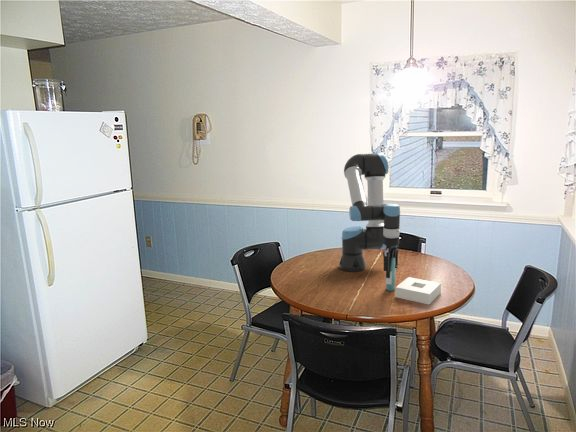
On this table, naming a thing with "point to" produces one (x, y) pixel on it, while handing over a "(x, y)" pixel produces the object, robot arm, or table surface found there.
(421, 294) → the socket board
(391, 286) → the peg
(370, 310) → the table surface
